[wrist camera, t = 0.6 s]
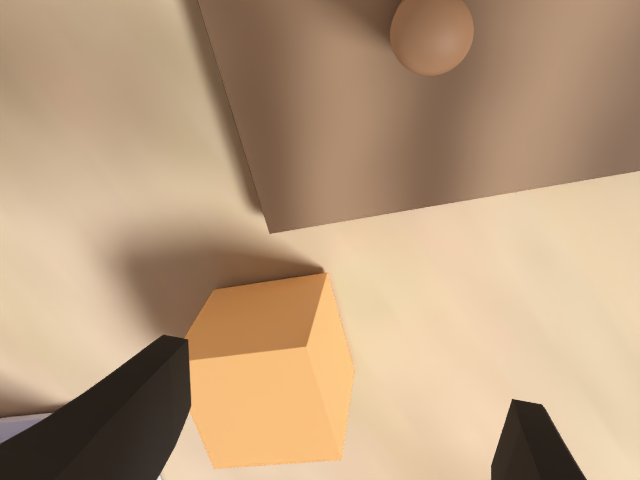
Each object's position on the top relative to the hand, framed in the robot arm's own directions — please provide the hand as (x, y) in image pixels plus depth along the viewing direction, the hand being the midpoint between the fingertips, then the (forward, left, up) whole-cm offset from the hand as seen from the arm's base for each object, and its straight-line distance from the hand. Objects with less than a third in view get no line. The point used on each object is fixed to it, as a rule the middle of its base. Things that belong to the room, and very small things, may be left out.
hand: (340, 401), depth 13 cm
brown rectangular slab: (+3, +6, -10) cm, 13 cm away
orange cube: (-5, -5, -10) cm, 12 cm away
